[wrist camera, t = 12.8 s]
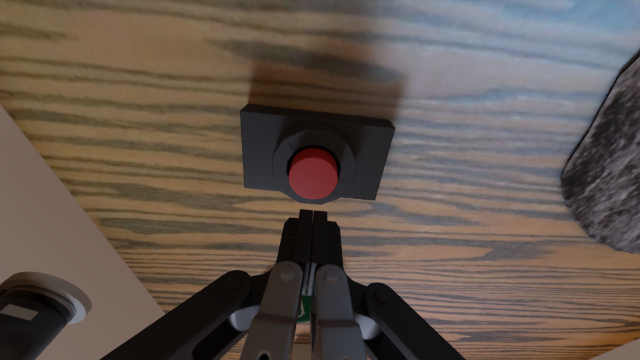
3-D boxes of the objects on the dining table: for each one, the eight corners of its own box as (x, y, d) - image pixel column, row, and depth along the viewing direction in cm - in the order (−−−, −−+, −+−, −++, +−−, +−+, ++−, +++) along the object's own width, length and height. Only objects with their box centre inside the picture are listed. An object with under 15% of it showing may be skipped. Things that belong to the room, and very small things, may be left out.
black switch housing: (250, 175, 24) (238, 199, 20) (247, 103, 20) (232, 117, 17) (370, 187, 24) (379, 213, 21) (388, 119, 21) (402, 136, 17)
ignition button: (290, 185, 20) (287, 197, 18) (292, 144, 18) (289, 154, 17) (333, 189, 20) (334, 201, 19) (339, 149, 18) (341, 159, 17)
